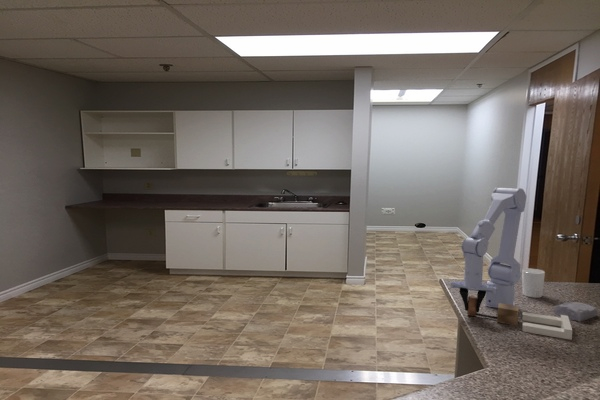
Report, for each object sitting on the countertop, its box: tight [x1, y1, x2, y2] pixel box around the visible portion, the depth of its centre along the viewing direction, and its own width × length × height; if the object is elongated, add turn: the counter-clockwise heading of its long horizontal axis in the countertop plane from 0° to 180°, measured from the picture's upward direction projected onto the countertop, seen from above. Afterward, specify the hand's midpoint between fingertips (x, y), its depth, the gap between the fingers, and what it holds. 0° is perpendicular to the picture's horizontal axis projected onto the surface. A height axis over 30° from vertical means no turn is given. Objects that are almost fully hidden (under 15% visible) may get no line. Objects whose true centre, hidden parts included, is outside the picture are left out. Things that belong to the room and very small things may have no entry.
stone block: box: [553, 301, 598, 322], centre depth 141 cm, size 12×5×10 cm
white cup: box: [521, 267, 546, 299], centre depth 161 cm, size 8×8×10 cm
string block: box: [466, 295, 519, 326], centre depth 137 cm, size 16×5×6 cm, turn 62°
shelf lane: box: [521, 311, 573, 341], centre depth 130 cm, size 13×13×3 cm
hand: (472, 310), depth 140 cm, fingers closed on string block, 3 cm apart
